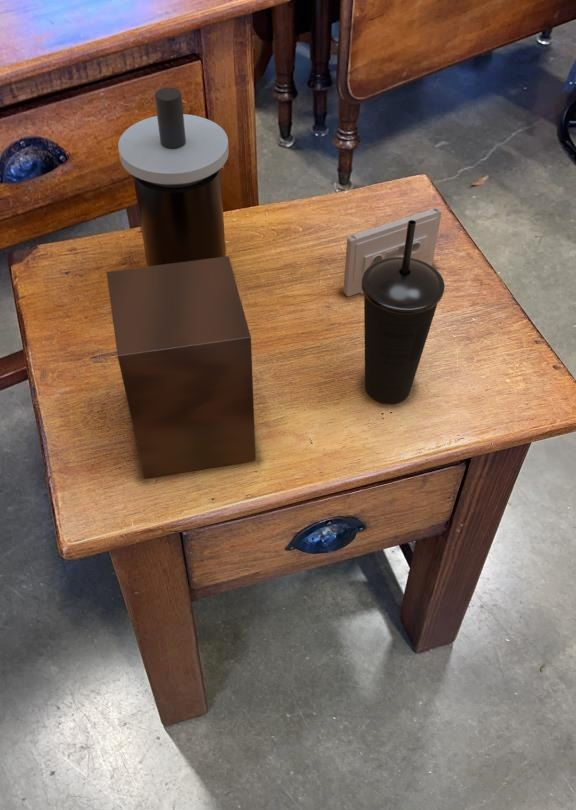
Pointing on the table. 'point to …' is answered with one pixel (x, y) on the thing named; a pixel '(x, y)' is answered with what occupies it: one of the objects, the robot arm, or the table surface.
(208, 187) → the thermos
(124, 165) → the lid
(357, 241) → the cassette
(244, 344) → the riser
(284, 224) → the table surface
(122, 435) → the table surface
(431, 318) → the drinking cup
